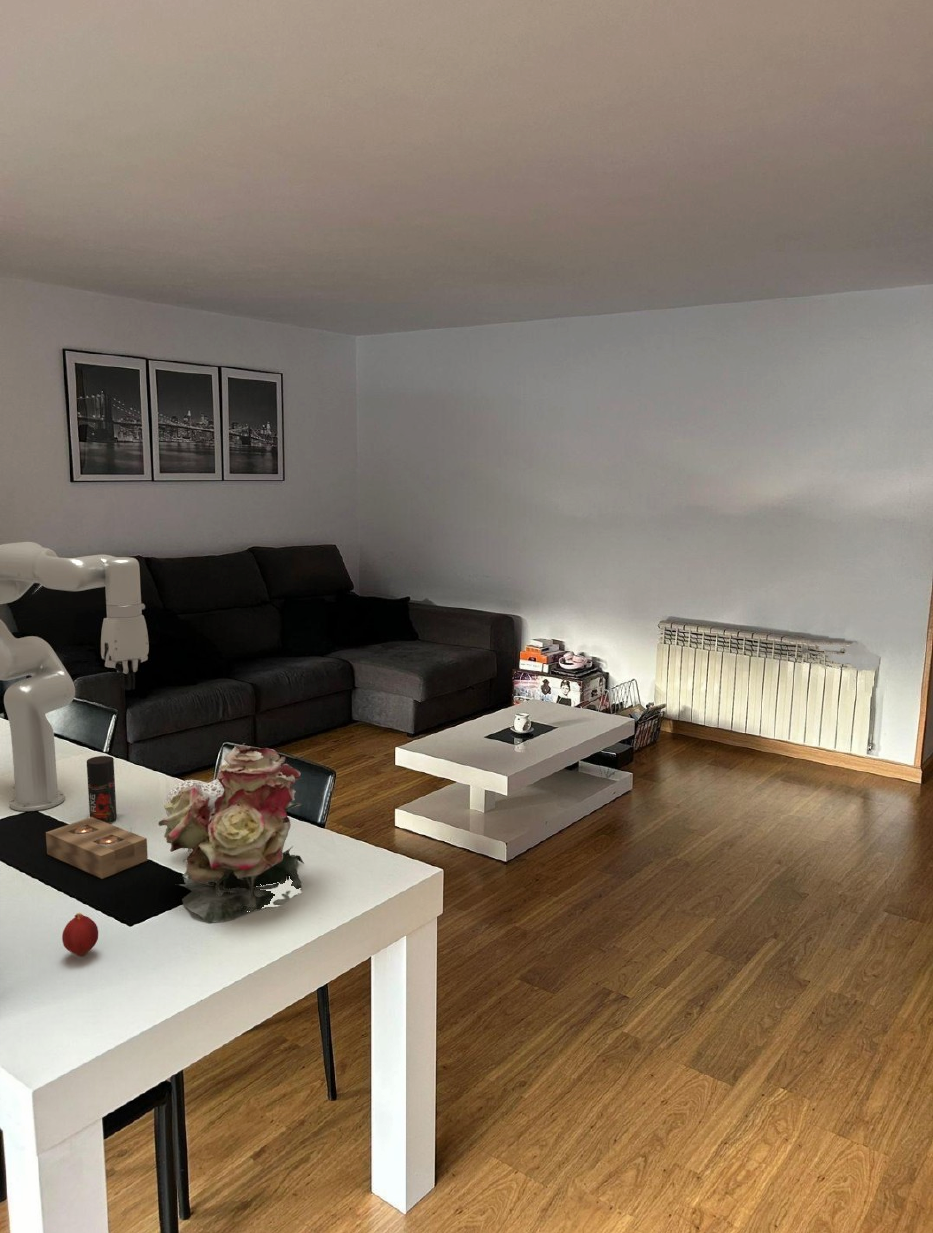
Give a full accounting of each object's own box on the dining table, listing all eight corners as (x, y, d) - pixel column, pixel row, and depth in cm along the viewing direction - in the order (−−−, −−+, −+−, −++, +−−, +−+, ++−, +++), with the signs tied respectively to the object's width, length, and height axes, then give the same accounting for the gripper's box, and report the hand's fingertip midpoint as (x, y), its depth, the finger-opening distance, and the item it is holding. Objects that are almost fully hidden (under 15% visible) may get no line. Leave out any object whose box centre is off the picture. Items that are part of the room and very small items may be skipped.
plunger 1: (72, 850, 201) (71, 830, 200) (87, 845, 204) (86, 824, 203) (82, 855, 199) (80, 834, 198) (97, 849, 202) (95, 828, 201)
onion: (70, 946, 163) (67, 904, 162) (103, 945, 164) (101, 903, 162) (58, 964, 157) (55, 921, 156) (93, 963, 158) (90, 920, 156)
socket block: (47, 854, 200) (45, 832, 199) (92, 837, 209) (91, 816, 208) (102, 878, 189) (100, 855, 188) (147, 860, 198) (146, 838, 197)
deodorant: (121, 816, 222) (118, 756, 219) (109, 825, 216) (106, 764, 213) (97, 814, 222) (94, 755, 220) (85, 824, 217) (81, 763, 214)
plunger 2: (97, 861, 196) (95, 840, 195) (111, 855, 199) (110, 834, 198) (107, 865, 194) (106, 844, 193) (122, 859, 197) (121, 838, 196)
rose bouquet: (157, 877, 190) (151, 737, 185) (297, 854, 202) (294, 723, 197) (171, 936, 167) (165, 778, 162) (328, 907, 179) (326, 759, 174)
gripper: (141, 605, 220) (145, 680, 223) (85, 613, 208) (89, 692, 211) (161, 608, 216) (165, 684, 219) (105, 617, 204) (109, 697, 207)
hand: (128, 688), depth 215 cm, fingers closed
